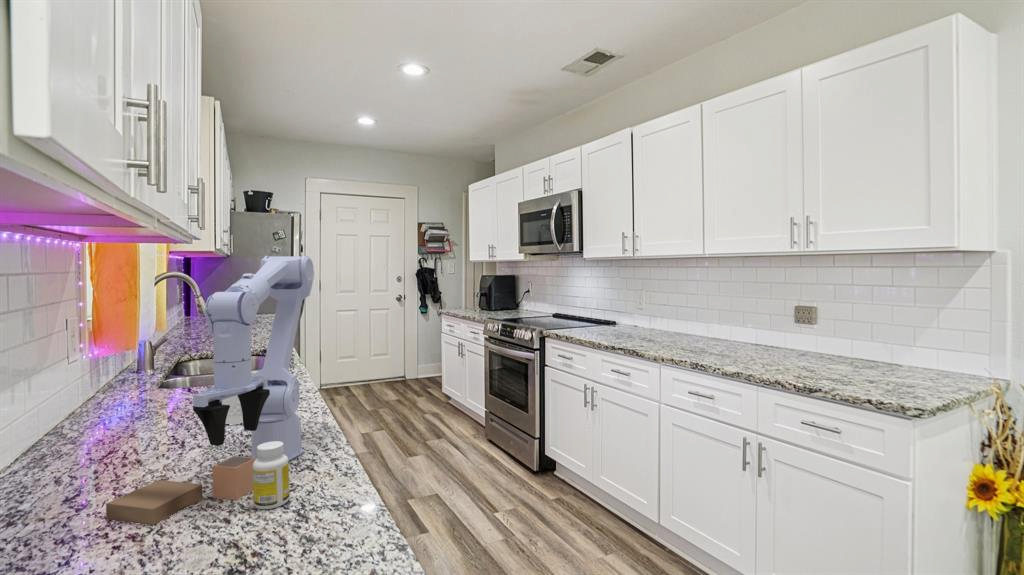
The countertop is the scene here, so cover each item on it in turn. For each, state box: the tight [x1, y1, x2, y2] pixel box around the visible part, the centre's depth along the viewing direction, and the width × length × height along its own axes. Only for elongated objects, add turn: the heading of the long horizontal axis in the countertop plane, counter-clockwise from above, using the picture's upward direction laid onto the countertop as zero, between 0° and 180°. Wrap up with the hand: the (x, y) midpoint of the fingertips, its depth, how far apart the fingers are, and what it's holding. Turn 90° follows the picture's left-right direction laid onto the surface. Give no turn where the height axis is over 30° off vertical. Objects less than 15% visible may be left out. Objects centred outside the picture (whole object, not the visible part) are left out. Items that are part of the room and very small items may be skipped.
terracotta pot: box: [212, 455, 257, 501], centre depth 86 cm, size 5×5×6 cm
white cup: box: [221, 395, 243, 424], centre depth 127 cm, size 8×8×10 cm
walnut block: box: [105, 479, 203, 527], centre depth 80 cm, size 9×9×3 cm
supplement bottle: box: [252, 441, 290, 510], centre depth 82 cm, size 5×5×10 cm
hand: (234, 437), depth 86 cm, fingers open, 7 cm apart
